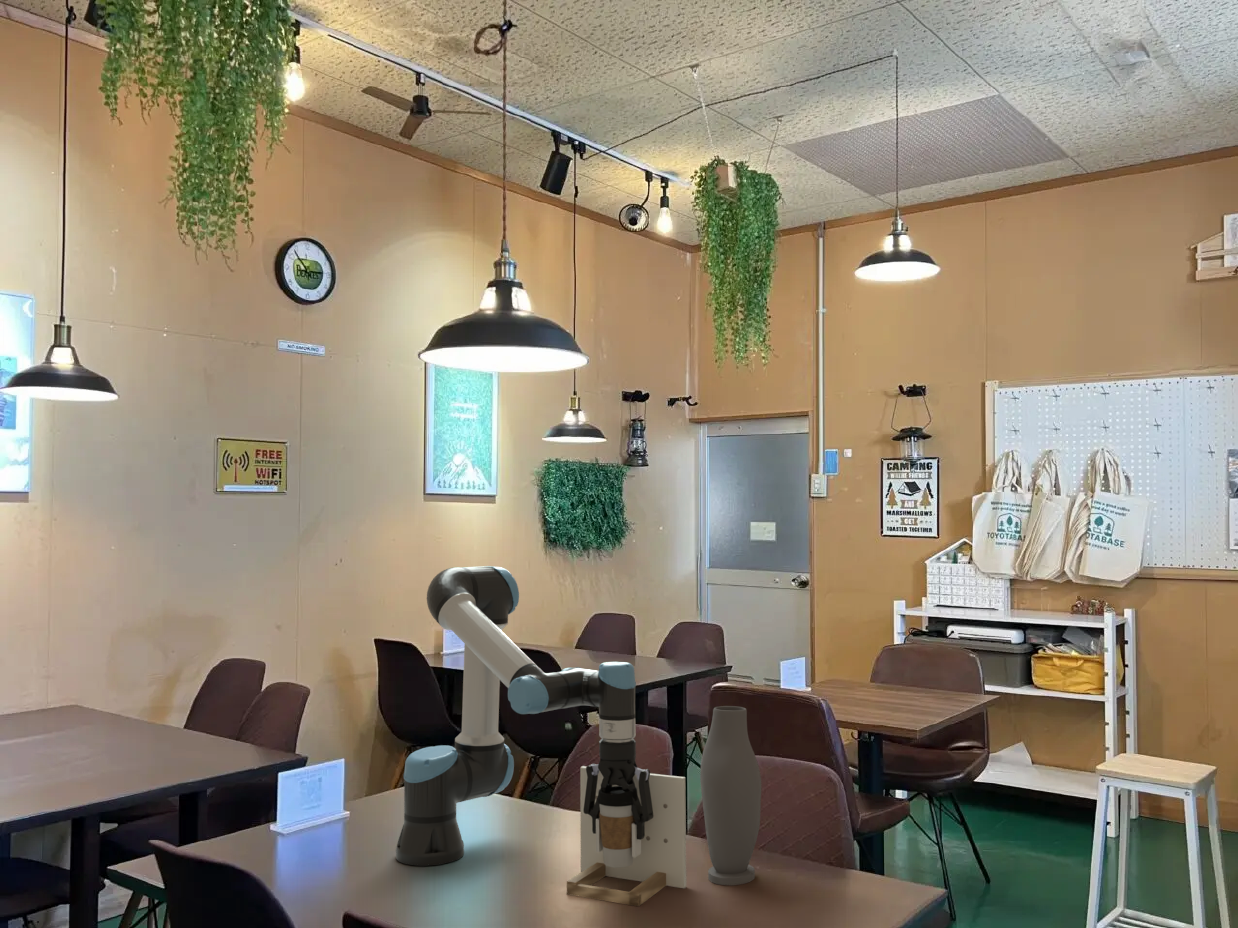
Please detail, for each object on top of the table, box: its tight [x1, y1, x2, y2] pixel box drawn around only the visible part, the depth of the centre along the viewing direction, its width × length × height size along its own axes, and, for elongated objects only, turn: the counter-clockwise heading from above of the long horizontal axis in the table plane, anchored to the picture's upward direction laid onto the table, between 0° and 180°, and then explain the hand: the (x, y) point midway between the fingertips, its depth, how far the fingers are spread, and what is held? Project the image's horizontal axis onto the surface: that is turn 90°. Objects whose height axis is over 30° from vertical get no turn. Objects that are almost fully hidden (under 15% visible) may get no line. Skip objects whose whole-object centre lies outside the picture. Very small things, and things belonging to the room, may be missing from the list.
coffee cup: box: [597, 786, 637, 868], centre depth 209 cm, size 8×8×15 cm
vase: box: [699, 705, 762, 886], centre depth 217 cm, size 13×13×35 cm
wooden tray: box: [566, 863, 667, 907], centre depth 208 cm, size 16×13×2 cm
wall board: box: [579, 765, 687, 889], centre depth 215 cm, size 24×1×22 cm, turn 64°
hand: (618, 852), depth 209 cm, fingers closed on coffee cup, 7 cm apart
